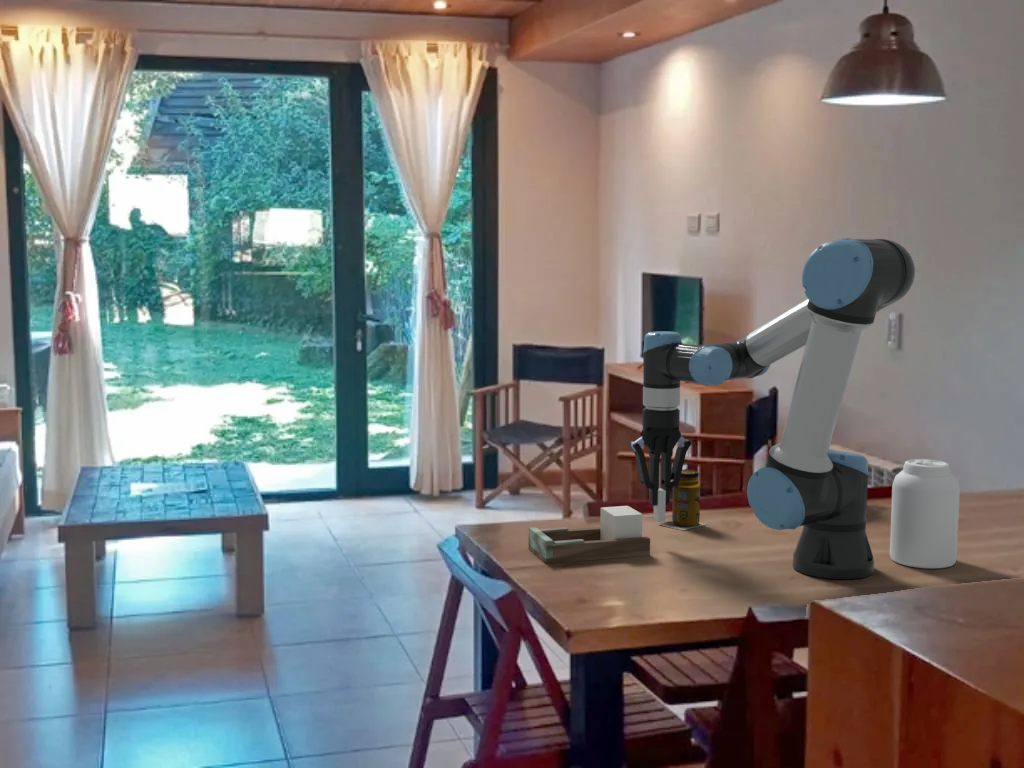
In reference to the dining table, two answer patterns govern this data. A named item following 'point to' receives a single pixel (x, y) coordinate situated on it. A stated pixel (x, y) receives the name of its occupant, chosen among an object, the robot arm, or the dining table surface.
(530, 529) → the walnut chute
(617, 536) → the cream block
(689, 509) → the condiment
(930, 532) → the can
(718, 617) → the dining table surface
